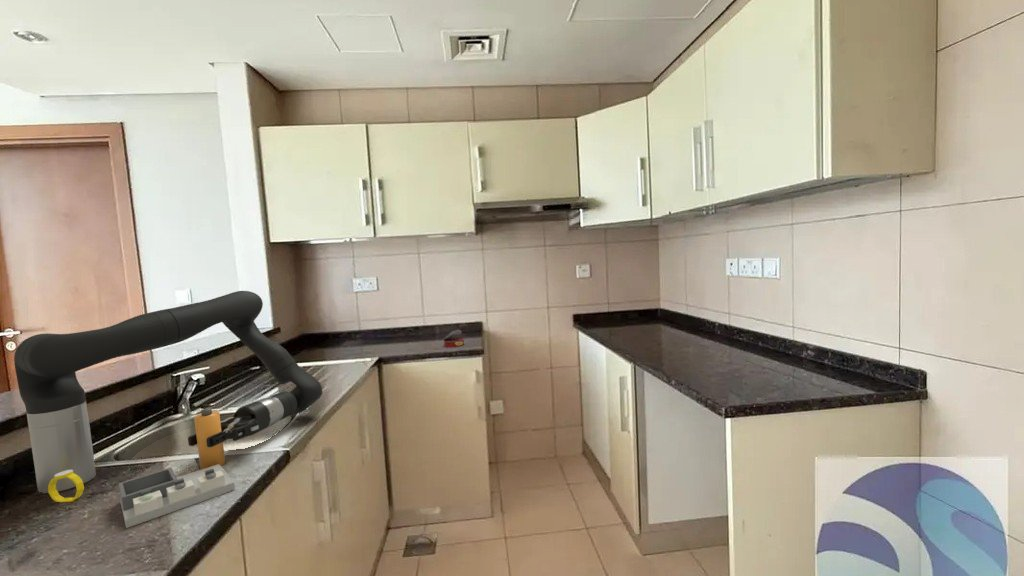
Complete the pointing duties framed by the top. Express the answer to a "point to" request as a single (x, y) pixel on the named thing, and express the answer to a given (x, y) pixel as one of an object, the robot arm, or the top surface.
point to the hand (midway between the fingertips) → (199, 442)
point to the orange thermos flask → (205, 428)
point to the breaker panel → (183, 502)
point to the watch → (70, 475)
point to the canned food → (453, 339)
